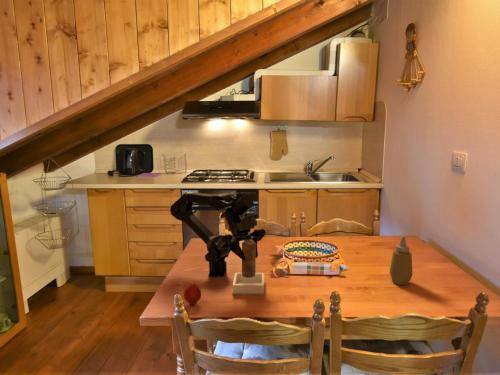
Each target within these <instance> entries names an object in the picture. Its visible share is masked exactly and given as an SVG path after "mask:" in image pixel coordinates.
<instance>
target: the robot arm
mask: <svg viewBox="0 0 500 375" xmlns="http://www.w3.org/2000/svg"><path fill="white" fill-rule="evenodd" d="M254 203H255V201H254V200H253V198H252V197H250V196H249V195H247V194H246V193H244V192H240V193H239V194H237V197H234V196H232V195H231V194H230V193H229V192H228V193H227V192H226V193H225V192H224V193H216V194H211V193H210V194H209V193H204V192H203V193H201V192H196V191H195V192H194V191H187V192H184V193H183V194H182V195H181V196H180V197H179V198H178V199H177V200H176V201H175V202H174V203H173V204H171V206H170V209H169V210H170V212H169V213H170V215H171V216H172V217H174V218H175V220H178V221H181V222H183V223H185V224H186V225H187V226H188V227H189V228H190V229H191V230H192V231H193V232H194V234H195V235H197V236H198V238H200V239H201V240H202V242H204V244H205V245H206V249H207V253H206V254H205V255H204V260H205V261H206V262H208V270H209V271H208V272H209V273H208V277H225V276H226V274H227V272H228V268H227V267H228V266H227V263H228V262H227V261H226V258H229V254H231V252H232V253H233V254H235V255H236V256H237V257H238V258H239V259H241V261H242V260H243V261H245V256H244V254H243V252H242V246H240V242H244V240H247V239H251V240H254V242H255V243H256V259H257V258H258V257H259V254H258V252H259V251H258V242H261V240H263V238H264V237H265V236H266V235H267V231H266V229H265V228H262V227H261V228H256V229H255V227H256V226H258V220H257V219H256V217H254V216H253V217H251V218H249V219H248V220H245V219H243V218H242V216H245V214H247V212H248V211H250V210H251V209H252V208H253V207H254V205H255V204H254ZM194 204H198V205H199V204H200V205H206V206H209V207H211V209H215V210H217V211H221V210H224V211H221V214H220V217H219V218H220V219H225V221H226V224H227V226H228V228H227V231H228V232H230V233H231V234H230V233H229V234H225V235H222V234H219V235H216V234H214V233H213V232H212V231H211V230H210V229H209V228H208V227H207V226H206V225H205V224H204V223H203V222H202V221H201V220H200V219H199V218H198V217H197V216H196V215H195V213H194V211H193V210H194V209H193V206H194ZM252 229H253V231H252ZM251 231H252V233H251Z"/></svg>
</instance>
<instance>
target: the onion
mask: <svg viewBox="0 0 500 375" xmlns="http://www.w3.org/2000/svg"><path fill="white" fill-rule="evenodd" d="M201 291H202V290H201V288H200V286H198V285H197V284H195V283H194V282H190V284H188V285H187V286H186V287H185V289H184V292H183V298H184V300H185V301H186V302H187V303H188V304H190V305H192V306H194V305H195V304H197V303H198V302H199V301H200V299H201V297H202V292H201Z"/></svg>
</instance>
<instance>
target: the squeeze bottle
mask: <svg viewBox="0 0 500 375" xmlns="http://www.w3.org/2000/svg"><path fill="white" fill-rule="evenodd" d="M391 255H392V256H391V260H390V261H391V262H390V267H389V275H390V278H391V281H392V283H394V284H395V285H399V286H408V285H409V283H410V281H411V279H412V277H413V259H412V258H413V256H412V253H411V252H410V246H409V245H407V241H406V236H401V237H400V240H399V244H396V245H395V249H394V251H393V252H392V254H391Z"/></svg>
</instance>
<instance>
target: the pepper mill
mask: <svg viewBox="0 0 500 375" xmlns="http://www.w3.org/2000/svg"><path fill="white" fill-rule="evenodd" d="M241 250H242V252H243V254H244V256H245V261H243V260H242V259H241V273H242V276H243V277H246V278H251V277H254V276H255V274H256V273H257V272H256V270H257V269H256V268H257V267H256V265H257V264H256V263H257V262H256V259H257V258H256V243H255V242H254V240H251V239H247V240H243V241H242V243H241Z"/></svg>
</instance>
